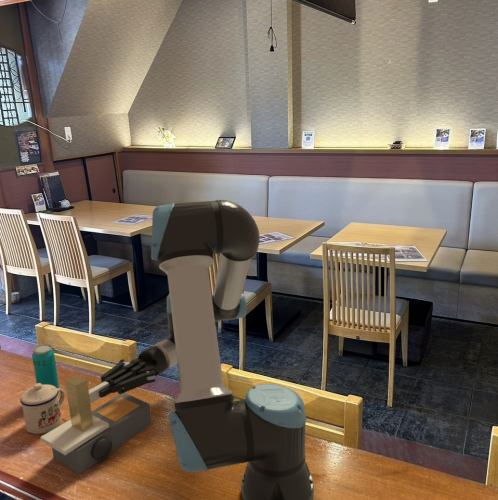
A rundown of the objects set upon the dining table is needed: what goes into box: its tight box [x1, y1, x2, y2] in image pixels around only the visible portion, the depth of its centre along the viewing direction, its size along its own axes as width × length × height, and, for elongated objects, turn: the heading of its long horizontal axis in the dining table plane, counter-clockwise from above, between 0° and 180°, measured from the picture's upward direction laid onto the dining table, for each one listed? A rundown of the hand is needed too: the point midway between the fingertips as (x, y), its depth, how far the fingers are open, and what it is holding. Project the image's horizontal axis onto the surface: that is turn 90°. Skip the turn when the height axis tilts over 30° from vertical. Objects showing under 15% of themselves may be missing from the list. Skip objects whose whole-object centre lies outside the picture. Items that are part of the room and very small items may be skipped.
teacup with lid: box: [19, 383, 66, 435], centre depth 132 cm, size 12×9×12 cm
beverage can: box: [31, 344, 60, 394], centre depth 143 cm, size 6×6×15 cm
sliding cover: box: [40, 374, 109, 455], centre depth 115 cm, size 12×9×13 cm
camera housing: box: [51, 392, 153, 475], centre depth 124 cm, size 22×11×6 cm, turn 144°
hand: (85, 399), depth 118 cm, fingers closed
